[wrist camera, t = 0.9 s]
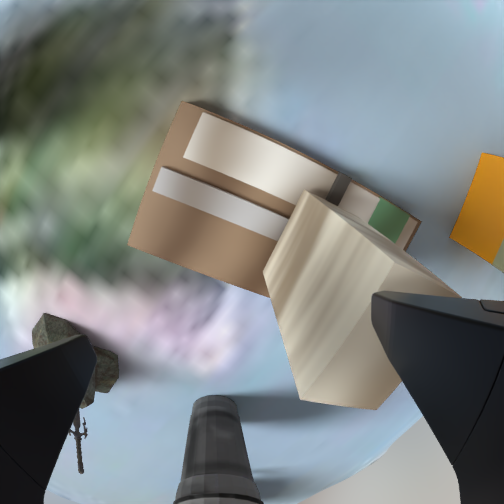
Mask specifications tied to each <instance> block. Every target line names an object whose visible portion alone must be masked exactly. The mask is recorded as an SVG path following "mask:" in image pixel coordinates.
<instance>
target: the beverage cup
mask: <svg viewBox="0 0 504 504" xmlns="http://www.w3.org/2000/svg"><path fill="white" fill-rule="evenodd" d="M173 504H264V502H262V501H261V499H260V494H259V491H258V489H257V486H256V484H255V483H254V481H253V477H252V472H251V468H250V464H249V459H248V455H247V450H246V446H245V441H244V437H243V432H242V427H241V423H240V418H239V416H238V412H237V407H236V404H235V403H234V402H233V401H232V400H230V399H229V398H226V397H223V396H217V395H211V396H205V397H202V398H200V399H198V400H196V402H195V403H194V404H193V409H192V415H191V417H190V423H189V429H188V435H187V442H186V448H185V455H184V462H183V469H182V475H181V482H180V483H179V486H178V489H177V493H176V498H175V501H174V502H173Z"/></svg>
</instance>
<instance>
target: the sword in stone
mask: <svg viewBox="0 0 504 504" xmlns="http://www.w3.org/2000/svg"><path fill="white" fill-rule="evenodd" d="M74 335H81V334H80V333H79V332H78V331H77V330H76V329H75V328H74V327H73V326H71V325H70V324H69V323H68V322H67V321H66V320H65V319H62V318H59V317H55V316H52V315H49V314H46V313H44V314H43V315H42V317H41V318H40V320H39V321H38V323H37V324H36V325H35V327H34V328H33V330H32V340H33V346H34V349H35V348H38V347H41V346H44V345H47V344H50V343H53V342H56V341H59V340H62V339H65V338H68V337H71V336H74ZM91 345H92V344H91ZM92 347H93V349H94V351H95V353H96V356H97V363H96V366H95V369H94V372H93V375H92V377H91V380H90V383H89V386H88V389H87V392H86V394H85V396H84V399H83V401H82V403H81V405H80V408H81V409H83V408H85V407H87V406H89V405H90V404H92V403H93V402H94V395H95V391H97V392H102V393H109V391H110V389H111V388H112V386H113V385H114V383H115V382H116V381H117V379H118V378H119V368H118V355H116V354H114V353H112V352H111V351H108V350H105V349H101V348H98V347H95V346H93V345H92ZM83 419H84V417H83ZM73 425H74V427H75V432H73V431H72V430H71V429H70V430H69V432H68V433H69V435H70V436H71V434H70V432H72V433H73V434H74V436H75V437H74V439H75V440H76V445H77V447H76V448H77V458H78V471H79V473H80V474H83V473H84V469H83V462H82V456H81V454H82V452H81V444H80V442H81V441H80V440H82V438H81V436H82V435H85V438H86V436H87V435H88V434H87V433H86V432H87V428H86V429H85V425H86V422H85V419H84V423H83V426H84V433H80V432H79V428H80V414H79V410H78V412H77V414H76V416H75V419H74V421H73ZM85 438H84V439H85Z"/></svg>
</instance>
